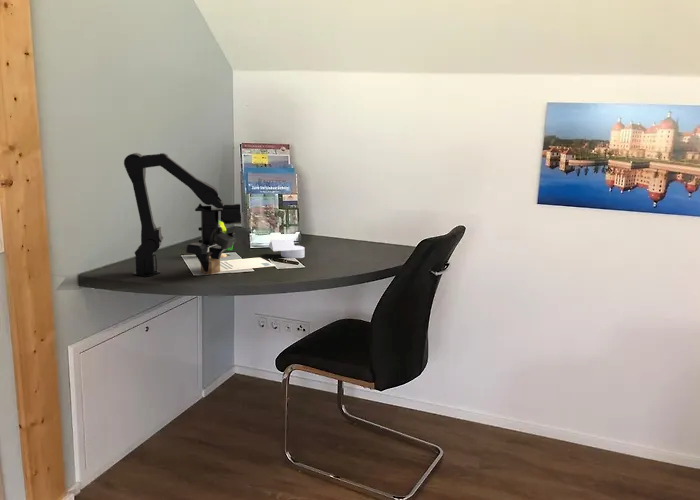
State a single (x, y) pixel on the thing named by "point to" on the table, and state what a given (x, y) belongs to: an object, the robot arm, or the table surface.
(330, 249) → the table surface
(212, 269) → the cube
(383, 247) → the table surface
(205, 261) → the robot arm
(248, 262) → the letter
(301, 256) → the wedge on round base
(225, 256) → the coaster
